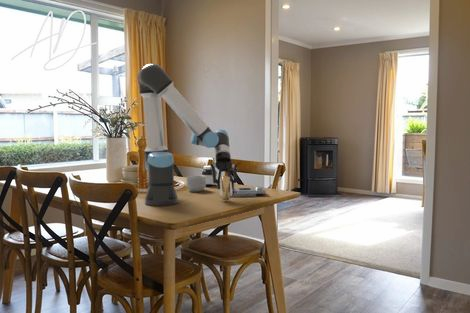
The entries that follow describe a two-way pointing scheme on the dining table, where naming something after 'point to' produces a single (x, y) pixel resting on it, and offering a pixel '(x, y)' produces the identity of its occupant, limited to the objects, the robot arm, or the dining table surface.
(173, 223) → the dining table surface
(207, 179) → the spread jar
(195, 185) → the teacup
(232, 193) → the link
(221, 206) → the dining table surface
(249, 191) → the link
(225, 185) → the pin
